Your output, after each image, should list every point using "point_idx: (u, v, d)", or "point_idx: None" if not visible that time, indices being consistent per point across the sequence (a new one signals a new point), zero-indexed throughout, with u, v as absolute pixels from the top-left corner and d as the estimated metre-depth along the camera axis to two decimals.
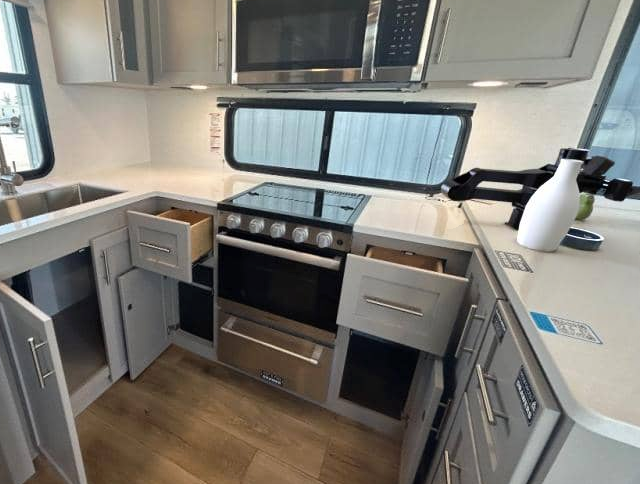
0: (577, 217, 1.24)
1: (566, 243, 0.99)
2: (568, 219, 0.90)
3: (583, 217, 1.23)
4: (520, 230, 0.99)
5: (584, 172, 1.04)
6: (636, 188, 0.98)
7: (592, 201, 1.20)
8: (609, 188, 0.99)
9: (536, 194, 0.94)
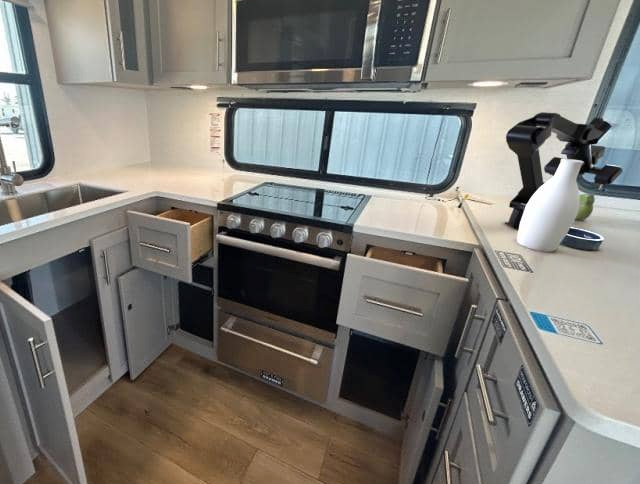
0: (577, 217, 1.24)
1: (566, 243, 0.99)
2: (568, 219, 0.90)
3: (583, 217, 1.23)
4: (520, 230, 0.99)
5: None
6: None
7: (592, 201, 1.20)
8: (604, 169, 1.07)
9: (536, 194, 0.94)
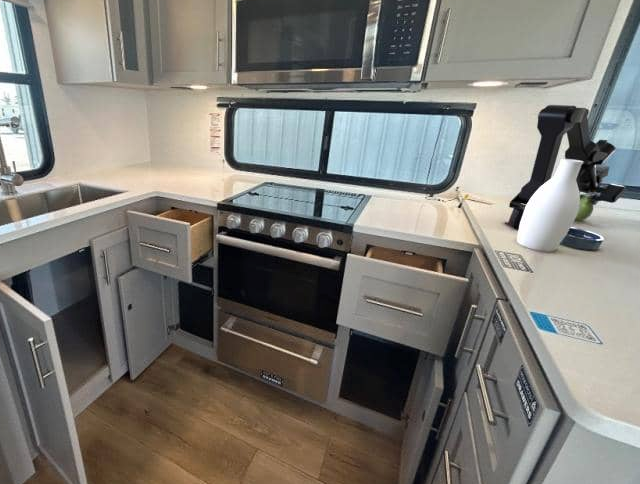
0: (577, 217, 1.24)
1: (566, 243, 0.99)
2: (568, 219, 0.90)
3: (583, 217, 1.23)
4: (520, 230, 0.99)
5: None
6: None
7: None
8: (609, 189, 1.13)
9: (536, 194, 0.94)
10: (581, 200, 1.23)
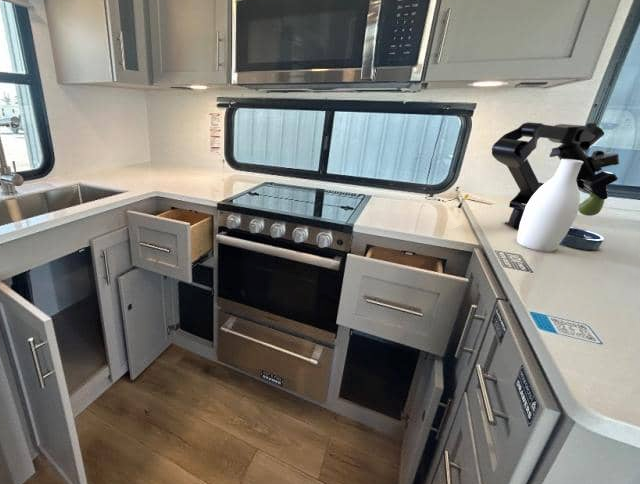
0: (580, 211, 1.10)
1: (566, 243, 0.99)
2: (568, 219, 0.90)
3: (586, 212, 1.09)
4: (520, 230, 0.99)
5: None
6: (605, 192, 1.04)
7: None
8: (595, 176, 1.01)
9: (536, 194, 0.94)
10: None
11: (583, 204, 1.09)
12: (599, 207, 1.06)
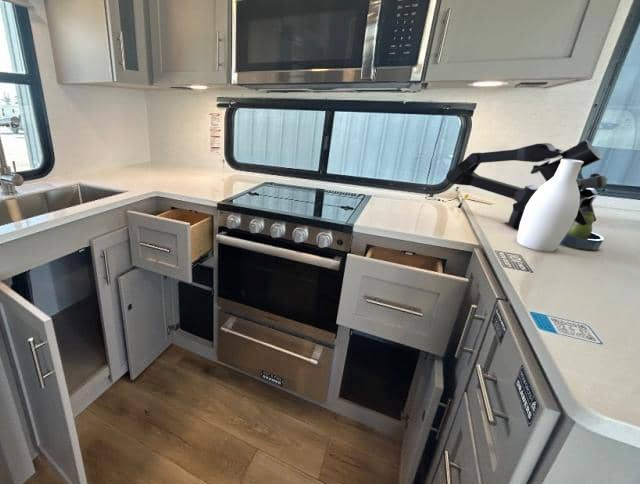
0: None
1: (566, 243, 0.99)
2: (568, 219, 0.90)
3: None
4: (520, 230, 0.99)
5: (577, 179, 0.99)
6: (581, 217, 0.96)
7: None
8: None
9: (536, 194, 0.94)
10: None
11: None
12: (578, 232, 0.98)
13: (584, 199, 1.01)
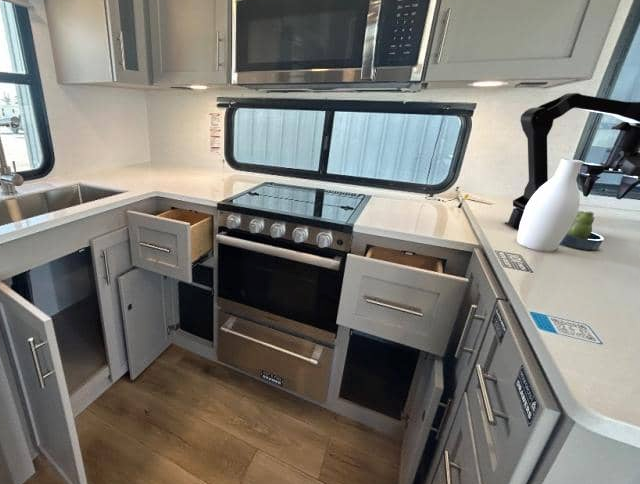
0: None
1: (566, 243, 0.99)
2: (568, 219, 0.90)
3: None
4: (520, 230, 0.99)
5: (634, 157, 0.96)
6: (587, 189, 1.03)
7: (578, 218, 0.98)
8: (593, 164, 1.01)
9: (536, 194, 0.94)
10: None
11: None
12: (578, 232, 0.98)
13: (635, 177, 0.99)
